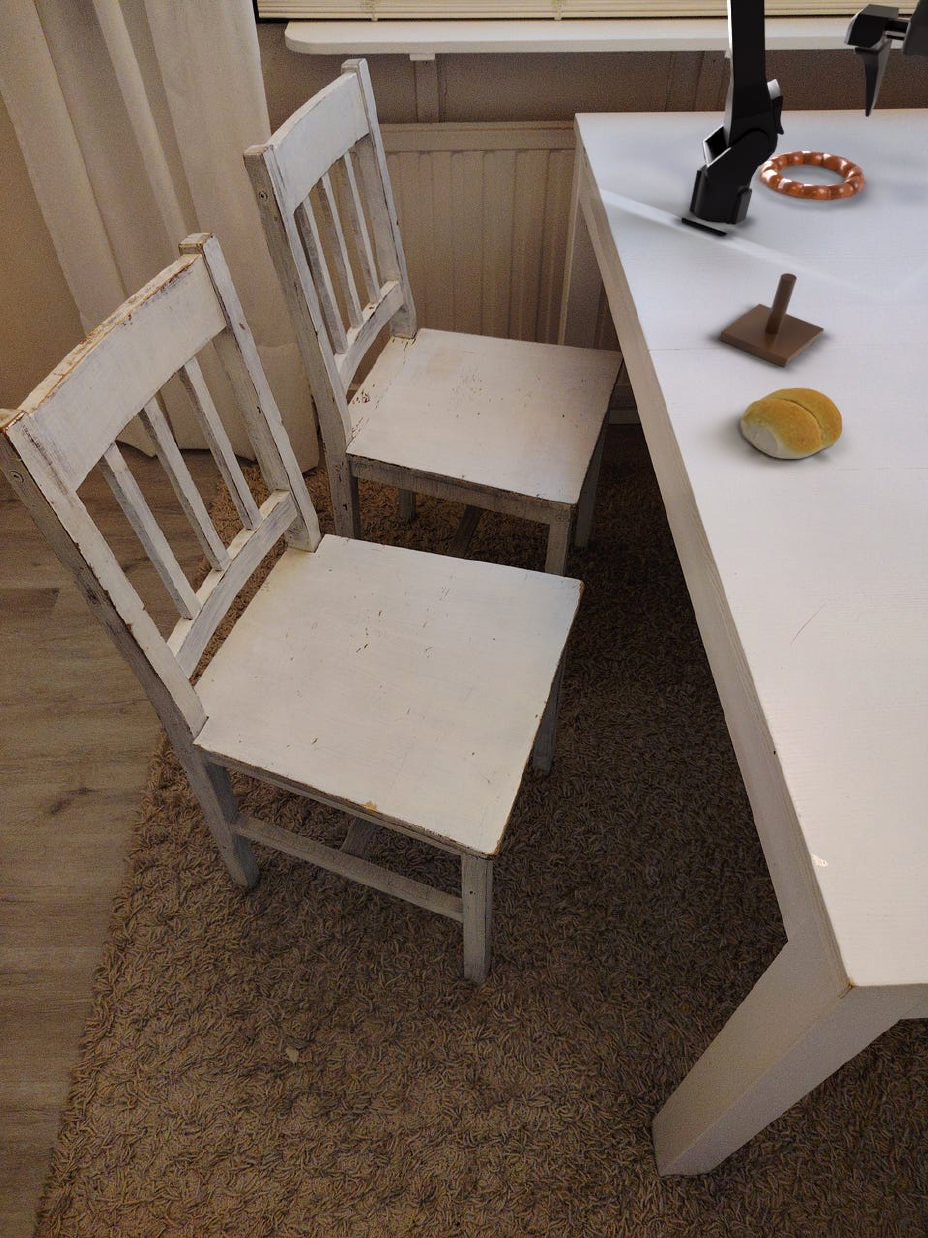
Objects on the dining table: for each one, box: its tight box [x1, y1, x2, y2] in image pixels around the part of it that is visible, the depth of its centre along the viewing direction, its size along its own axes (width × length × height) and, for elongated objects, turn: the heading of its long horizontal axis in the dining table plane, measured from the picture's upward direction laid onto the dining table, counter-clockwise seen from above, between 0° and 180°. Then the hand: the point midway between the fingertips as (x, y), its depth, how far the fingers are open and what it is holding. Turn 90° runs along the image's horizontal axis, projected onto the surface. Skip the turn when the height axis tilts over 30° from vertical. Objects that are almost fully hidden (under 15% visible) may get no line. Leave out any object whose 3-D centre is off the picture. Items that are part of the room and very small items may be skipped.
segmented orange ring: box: [760, 150, 866, 201], centre depth 111 cm, size 14×14×2 cm
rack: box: [718, 272, 825, 368], centre depth 85 cm, size 8×8×7 cm
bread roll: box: [740, 387, 843, 460], centre depth 75 cm, size 8×9×4 cm
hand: (907, 122), depth 94 cm, fingers open, 9 cm apart
